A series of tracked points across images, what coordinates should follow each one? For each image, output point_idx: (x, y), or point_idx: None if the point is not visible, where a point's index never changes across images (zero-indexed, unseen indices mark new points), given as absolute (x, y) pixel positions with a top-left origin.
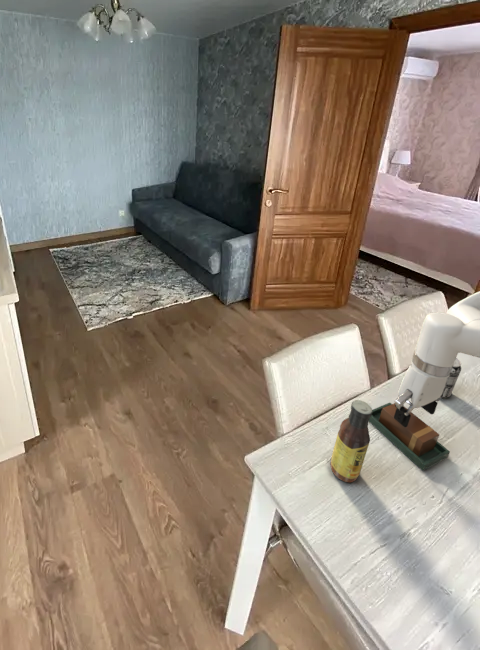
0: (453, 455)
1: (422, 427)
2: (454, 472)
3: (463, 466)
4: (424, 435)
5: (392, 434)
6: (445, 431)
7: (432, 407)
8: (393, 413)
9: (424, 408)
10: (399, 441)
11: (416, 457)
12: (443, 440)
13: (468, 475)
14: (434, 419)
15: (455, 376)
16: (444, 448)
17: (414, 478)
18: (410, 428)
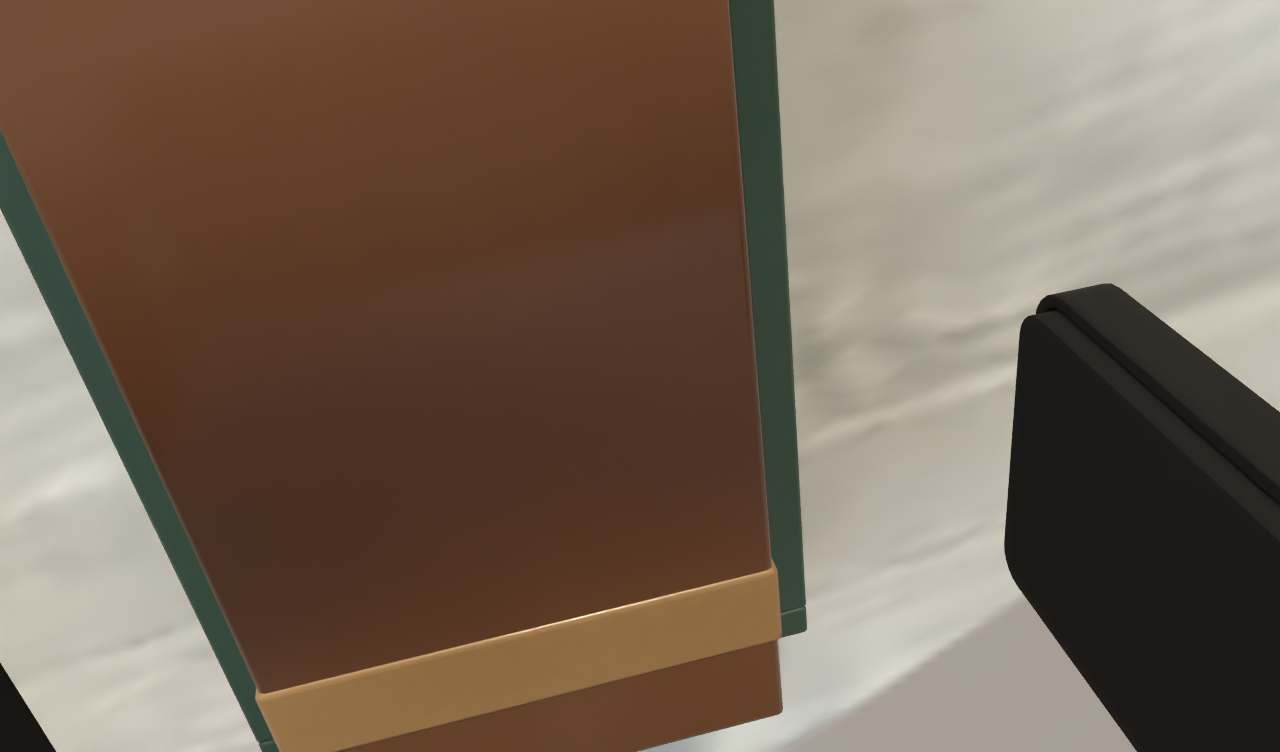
0: (867, 539)
1: (606, 584)
2: None
3: (833, 648)
4: (480, 723)
5: (75, 302)
6: (1159, 240)
7: (1131, 717)
8: (169, 155)
9: (1026, 435)
10: (120, 449)
11: (228, 679)
12: (974, 357)
13: (777, 723)
14: (1258, 14)
15: None
16: (781, 593)
17: (85, 742)
18: (308, 589)
